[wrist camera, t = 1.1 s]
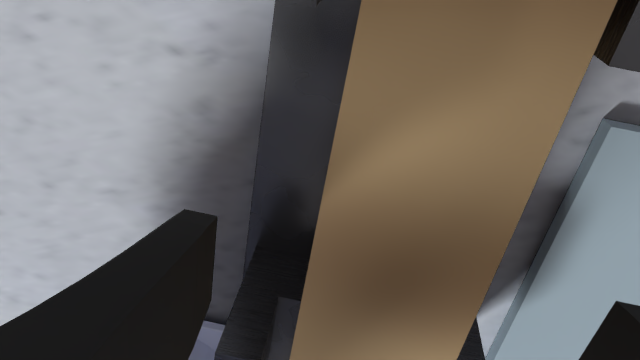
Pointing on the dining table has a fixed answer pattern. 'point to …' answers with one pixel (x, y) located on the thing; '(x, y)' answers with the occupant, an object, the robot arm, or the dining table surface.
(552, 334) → the mat
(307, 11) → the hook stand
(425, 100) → the oak rail
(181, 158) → the dining table surface
